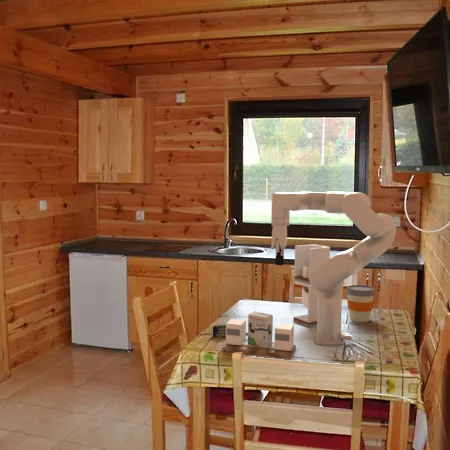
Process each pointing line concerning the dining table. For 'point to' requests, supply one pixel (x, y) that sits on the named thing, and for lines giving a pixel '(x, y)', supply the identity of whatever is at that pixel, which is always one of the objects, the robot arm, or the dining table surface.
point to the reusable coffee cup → (360, 302)
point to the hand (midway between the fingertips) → (279, 264)
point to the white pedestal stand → (308, 278)
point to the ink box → (260, 329)
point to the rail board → (260, 350)
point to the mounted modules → (281, 338)
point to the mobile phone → (220, 331)
